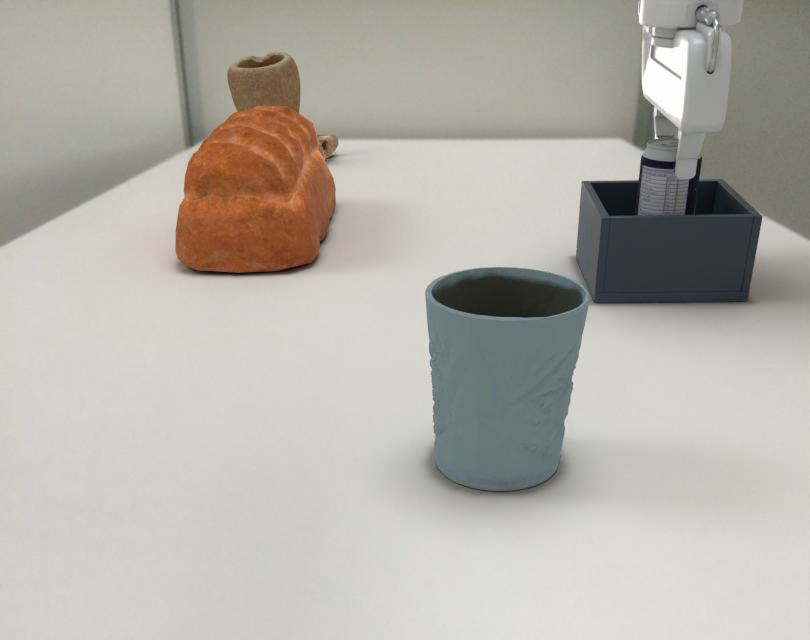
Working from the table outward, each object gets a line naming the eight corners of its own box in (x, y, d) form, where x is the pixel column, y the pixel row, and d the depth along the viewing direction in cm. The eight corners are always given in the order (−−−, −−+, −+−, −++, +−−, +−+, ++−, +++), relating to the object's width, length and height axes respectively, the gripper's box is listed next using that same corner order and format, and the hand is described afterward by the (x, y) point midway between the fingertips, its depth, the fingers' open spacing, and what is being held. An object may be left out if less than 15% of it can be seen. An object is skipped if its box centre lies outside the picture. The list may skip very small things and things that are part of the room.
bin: (711, 256, 105) (723, 178, 100) (747, 301, 92) (763, 216, 88) (575, 257, 105) (581, 180, 101) (594, 302, 93) (601, 218, 88)
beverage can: (698, 272, 97) (716, 145, 90) (649, 280, 95) (665, 151, 88) (665, 257, 101) (680, 135, 95) (618, 264, 99) (631, 140, 93)
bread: (341, 199, 128) (335, 92, 121) (314, 274, 102) (305, 142, 95) (224, 201, 129) (211, 94, 122) (167, 275, 102) (147, 144, 95)
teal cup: (403, 444, 69) (400, 278, 62) (527, 417, 72) (536, 256, 66) (468, 511, 61) (472, 329, 55) (604, 477, 64) (622, 301, 58)
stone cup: (223, 169, 145) (210, 58, 137) (248, 152, 155) (238, 48, 147) (321, 171, 143) (314, 58, 135) (340, 154, 152) (335, 48, 144)
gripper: (760, 11, 77) (733, 191, 84) (701, -9, 94) (684, 143, 101) (679, 13, 77) (660, 193, 84) (636, -6, 94) (623, 145, 101)
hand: (673, 165), depth 93 cm, fingers open, 8 cm apart
